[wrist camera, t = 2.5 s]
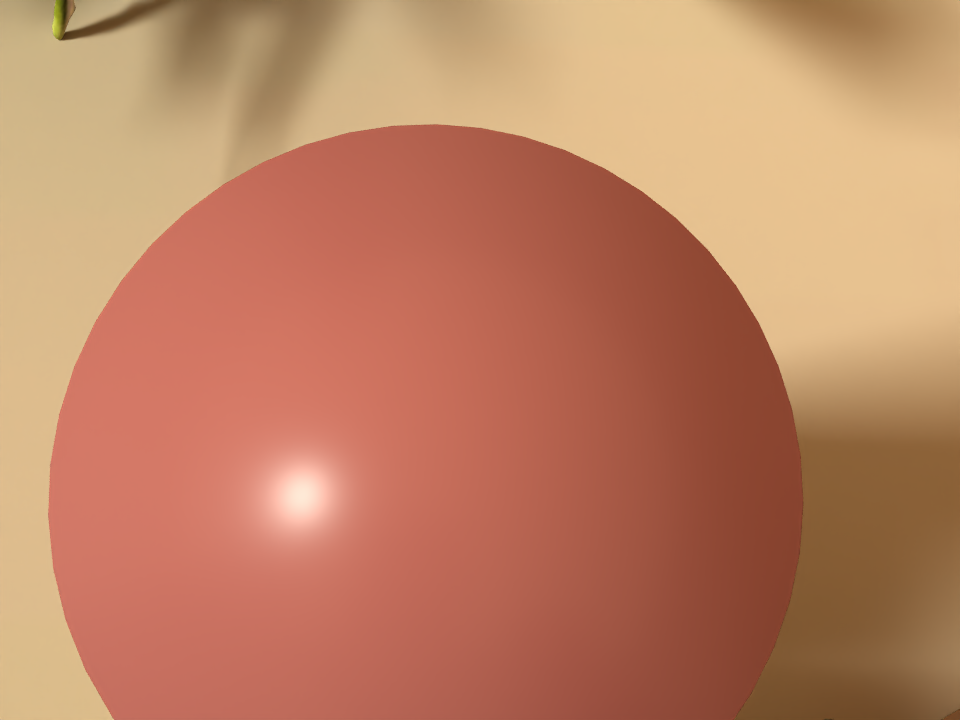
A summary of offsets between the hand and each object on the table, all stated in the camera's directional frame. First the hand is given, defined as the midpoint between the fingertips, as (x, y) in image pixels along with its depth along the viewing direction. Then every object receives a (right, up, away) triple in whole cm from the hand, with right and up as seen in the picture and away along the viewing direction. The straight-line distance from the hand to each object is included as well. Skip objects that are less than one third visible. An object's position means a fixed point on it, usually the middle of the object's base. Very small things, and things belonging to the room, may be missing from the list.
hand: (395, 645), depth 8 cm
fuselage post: (0, -1, +9) cm, 9 cm away
